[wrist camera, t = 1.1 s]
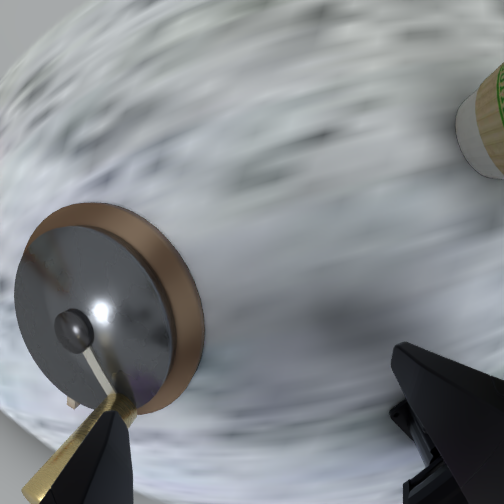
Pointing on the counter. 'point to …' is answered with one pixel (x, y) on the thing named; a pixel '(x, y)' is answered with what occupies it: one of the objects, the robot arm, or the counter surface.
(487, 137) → the coffee cup
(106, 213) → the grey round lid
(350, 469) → the counter surface
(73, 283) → the grey disc with post
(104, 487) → the robot arm
